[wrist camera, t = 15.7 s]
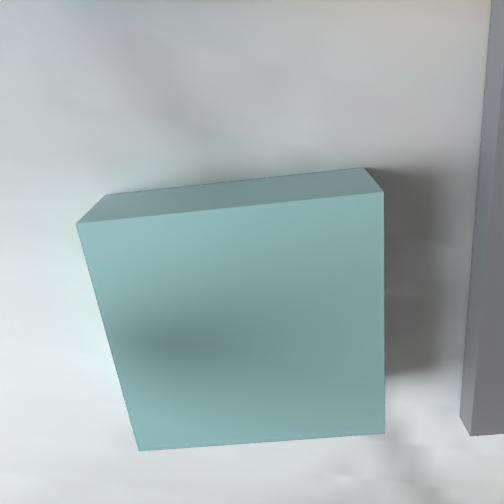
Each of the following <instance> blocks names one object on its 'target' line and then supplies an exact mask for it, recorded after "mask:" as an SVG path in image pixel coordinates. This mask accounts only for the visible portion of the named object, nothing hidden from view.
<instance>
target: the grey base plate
mask: <svg viewBox="0 0 504 504" xmlns="http://www.w3.org/2000/svg"><path fill="white" fill-rule="evenodd" d="M460 418H461V420H462V421H463V423H464V425H465V427H466V429H467V431H468V433H469V435H470V436H479V435H493V434H504V0H492V2H491V15H490V28H489V41H488V54H487V67H486V80H485V93H484V106H483V119H482V132H481V145H480V158H479V171H478V185H477V198H476V211H475V224H474V237H473V250H472V263H471V276H470V289H469V302H468V315H467V328H466V341H465V354H464V367H463V380H462V394H461V407H460Z"/></svg>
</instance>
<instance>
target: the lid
mask: <svg viewBox="0 0 504 504" xmlns="http://www.w3.org/2000/svg"><path fill="white" fill-rule="evenodd" d="M76 227H77V231H78V234H79V238H80V242H81V245H82V249H83V252H84V256H85V259H86V263H87V267H88V270H89V274H90V277H91V281H92V285H93V288H94V292H95V295H96V299H97V303H98V306H99V310H100V313H101V317H102V321H103V324H104V328H105V331H106V335H107V339H108V342H109V346H110V349H111V353H112V356H113V360H114V364H115V367H116V371H117V374H118V378H119V382H120V385H121V389H122V392H123V396H124V400H125V403H126V407H127V410H128V414H129V418H130V421H131V425H132V428H133V432H134V436H135V439H136V443H137V446H138V450H139V451H150V450H164V449H177V448H191V447H205V446H219V445H233V444H247V443H261V442H274V441H288V440H302V439H316V438H330V437H344V436H357V435H371V434H385V338H384V191H383V190H382V189H381V188H380V187H379V185H378V184H377V183H376V182H375V180H374V179H373V178H372V177H371V176H370V174H369V173H368V172H367V171H366V170H365V168H364V167H362V168H352V169H343V170H334V171H324V172H315V173H306V174H296V175H287V176H278V177H268V178H259V179H250V180H240V181H231V182H222V183H212V184H203V185H194V186H184V187H175V188H166V189H157V190H147V191H138V192H129V193H119V194H110V195H105V196H104V197H103V198H102V199H101V200H100V201H99V202H98V203H97V204H95V205H94V206H93V207H92V208H91V209H90V210H89V211H88V212H87V213H86V214H85V215H84V216H83V217H82V218H81V219H80V220H79V221H78V222H77V223H76Z"/></svg>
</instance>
